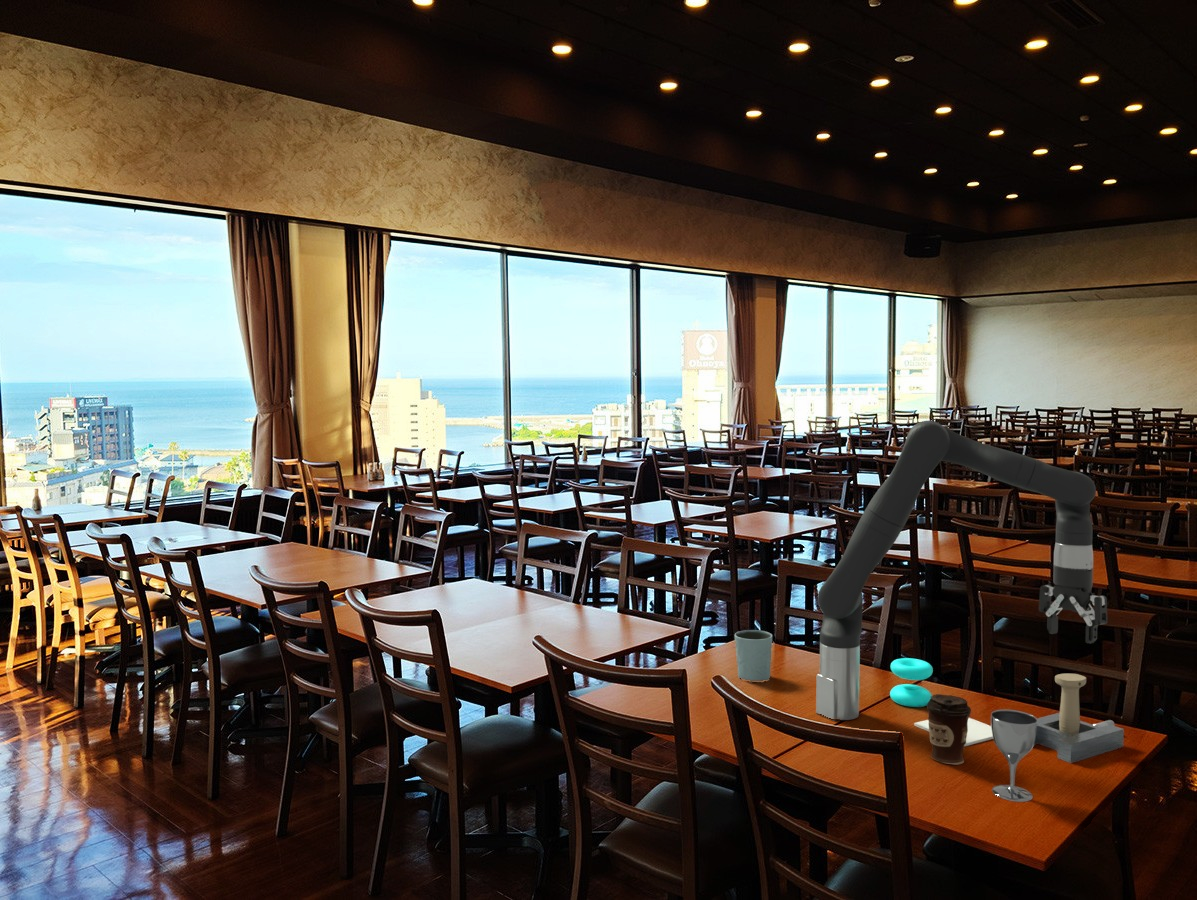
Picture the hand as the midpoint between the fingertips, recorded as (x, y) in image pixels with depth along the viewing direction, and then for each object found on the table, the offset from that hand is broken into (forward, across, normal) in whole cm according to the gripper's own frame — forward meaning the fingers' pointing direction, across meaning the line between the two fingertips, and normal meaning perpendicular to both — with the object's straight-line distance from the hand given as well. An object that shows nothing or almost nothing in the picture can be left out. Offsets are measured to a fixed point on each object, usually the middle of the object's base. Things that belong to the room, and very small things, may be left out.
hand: (1071, 637), depth 190 cm
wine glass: (+24, +10, -32) cm, 41 cm away
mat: (+24, -17, -14) cm, 32 cm away
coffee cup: (+24, -7, -30) cm, 39 cm away
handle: (+24, 0, 0) cm, 24 cm away
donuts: (+24, -36, -9) cm, 44 cm away
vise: (+24, 0, +3) cm, 24 cm away
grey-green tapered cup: (+24, -70, -32) cm, 81 cm away
